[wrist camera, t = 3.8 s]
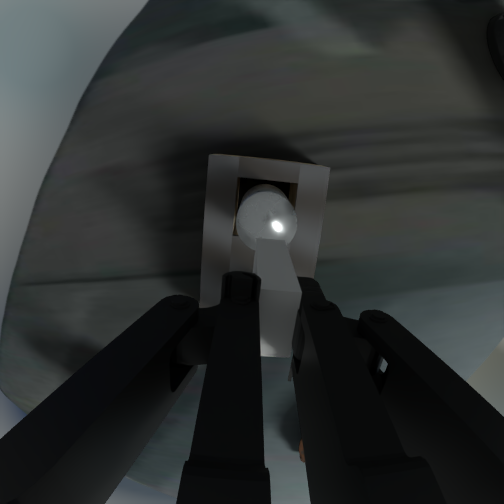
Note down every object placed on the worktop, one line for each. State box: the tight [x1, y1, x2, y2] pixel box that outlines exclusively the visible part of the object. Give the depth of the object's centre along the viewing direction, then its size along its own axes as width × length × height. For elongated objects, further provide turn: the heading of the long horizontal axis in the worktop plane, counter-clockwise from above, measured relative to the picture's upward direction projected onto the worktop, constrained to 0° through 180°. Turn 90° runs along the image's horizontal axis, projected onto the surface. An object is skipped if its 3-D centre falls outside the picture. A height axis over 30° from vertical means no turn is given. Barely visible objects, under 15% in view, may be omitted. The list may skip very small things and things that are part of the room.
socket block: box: [200, 154, 330, 308], centre depth 37 cm, size 20×12×7 cm, turn 174°
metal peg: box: [236, 184, 297, 250], centre depth 30 cm, size 5×5×7 cm
